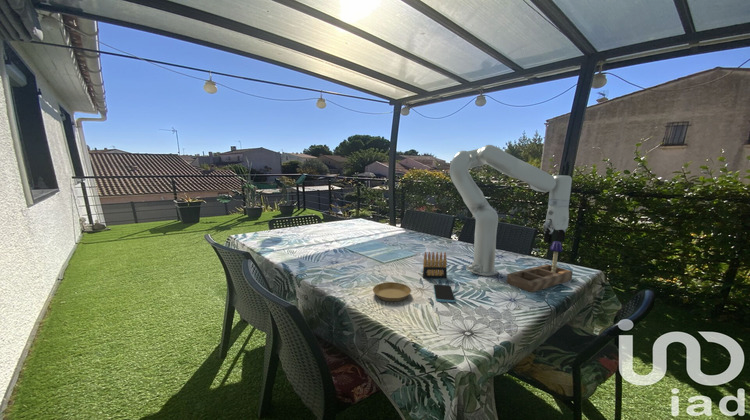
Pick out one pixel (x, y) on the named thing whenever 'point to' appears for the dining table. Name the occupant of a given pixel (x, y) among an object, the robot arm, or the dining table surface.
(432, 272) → the ammunition clip
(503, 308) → the dining table surface
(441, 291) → the smartphone
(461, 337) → the dining table surface
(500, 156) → the robot arm
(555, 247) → the toy lamp
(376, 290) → the plant saucer
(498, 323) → the dining table surface
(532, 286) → the tray
